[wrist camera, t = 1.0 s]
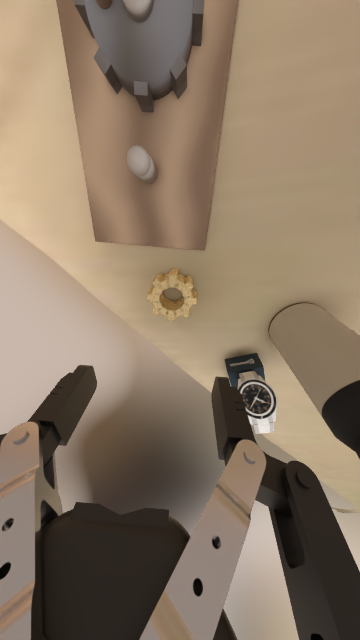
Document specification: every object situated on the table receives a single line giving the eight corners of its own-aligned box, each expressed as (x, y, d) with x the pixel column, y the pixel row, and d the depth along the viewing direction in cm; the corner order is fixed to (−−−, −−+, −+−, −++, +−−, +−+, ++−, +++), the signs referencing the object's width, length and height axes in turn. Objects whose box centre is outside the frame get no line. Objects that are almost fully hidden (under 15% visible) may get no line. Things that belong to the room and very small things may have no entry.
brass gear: (198, 270, 24) (199, 277, 21) (193, 312, 27) (193, 322, 24) (151, 266, 24) (146, 273, 21) (152, 308, 27) (148, 318, 24)
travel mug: (270, 305, 26) (393, 442, 10) (330, 298, 25) (565, 438, 9) (266, 348, 30) (349, 492, 14) (317, 343, 29) (466, 494, 13)
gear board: (245, -68, 12) (292, -312, 6) (204, 248, 22) (208, 259, 17) (54, -81, 12) (-62, -332, 6) (100, 239, 22) (71, 247, 17)
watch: (255, 344, 29) (286, 405, 20) (260, 377, 33) (288, 441, 24) (221, 351, 30) (236, 412, 21) (230, 382, 34) (245, 445, 25)
